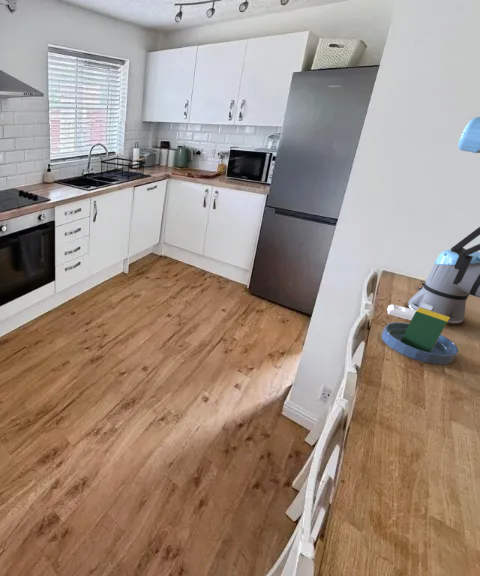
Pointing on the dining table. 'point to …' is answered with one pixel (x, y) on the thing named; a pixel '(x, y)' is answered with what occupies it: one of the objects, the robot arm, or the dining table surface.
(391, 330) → the bowl
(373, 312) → the dining table surface
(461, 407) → the dining table surface
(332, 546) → the dining table surface
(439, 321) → the sponge
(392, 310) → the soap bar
